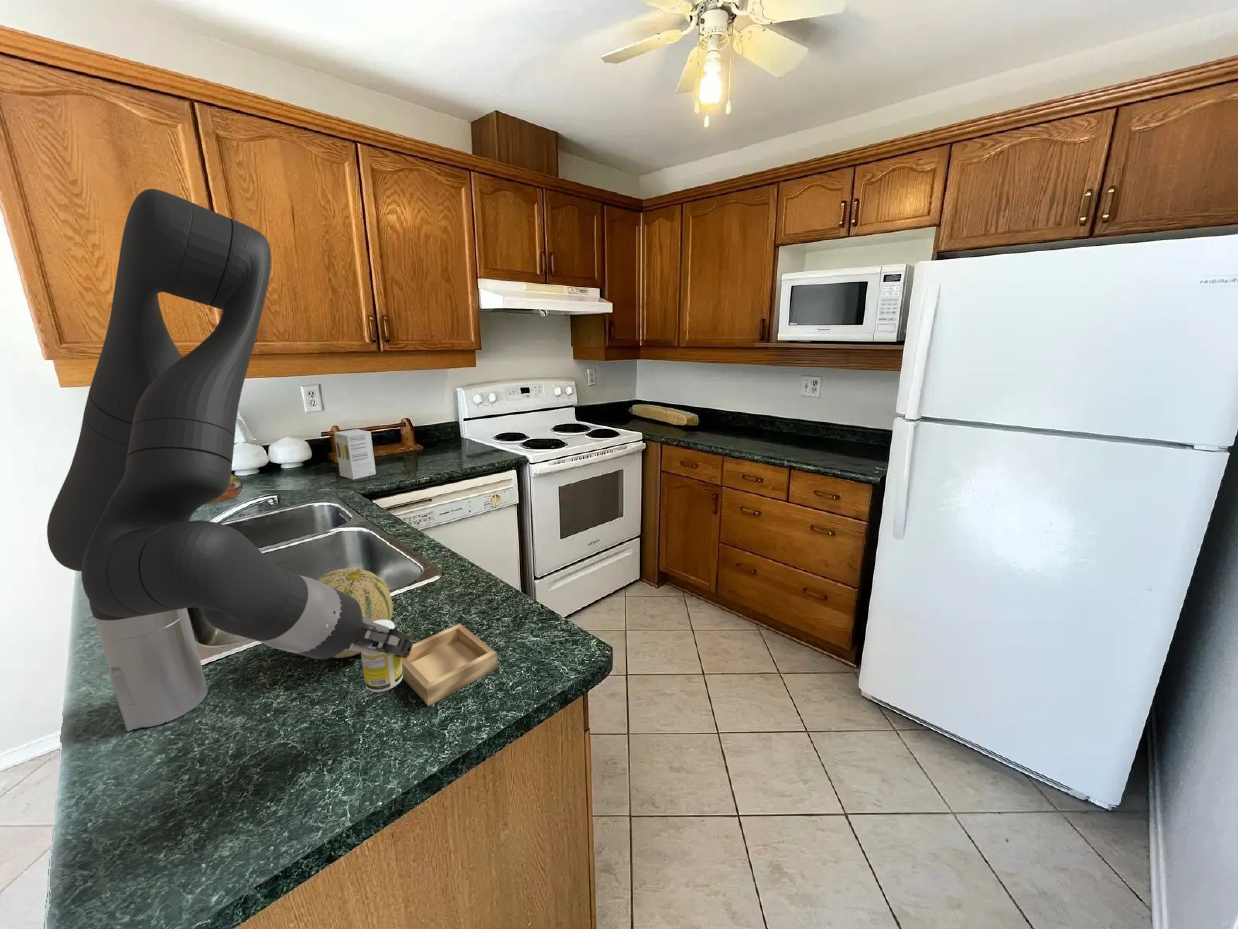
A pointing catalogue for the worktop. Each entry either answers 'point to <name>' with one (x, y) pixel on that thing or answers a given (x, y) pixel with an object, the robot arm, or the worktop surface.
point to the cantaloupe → (361, 594)
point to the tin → (230, 490)
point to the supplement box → (355, 453)
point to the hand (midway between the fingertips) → (390, 646)
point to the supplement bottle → (381, 667)
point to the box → (447, 663)
